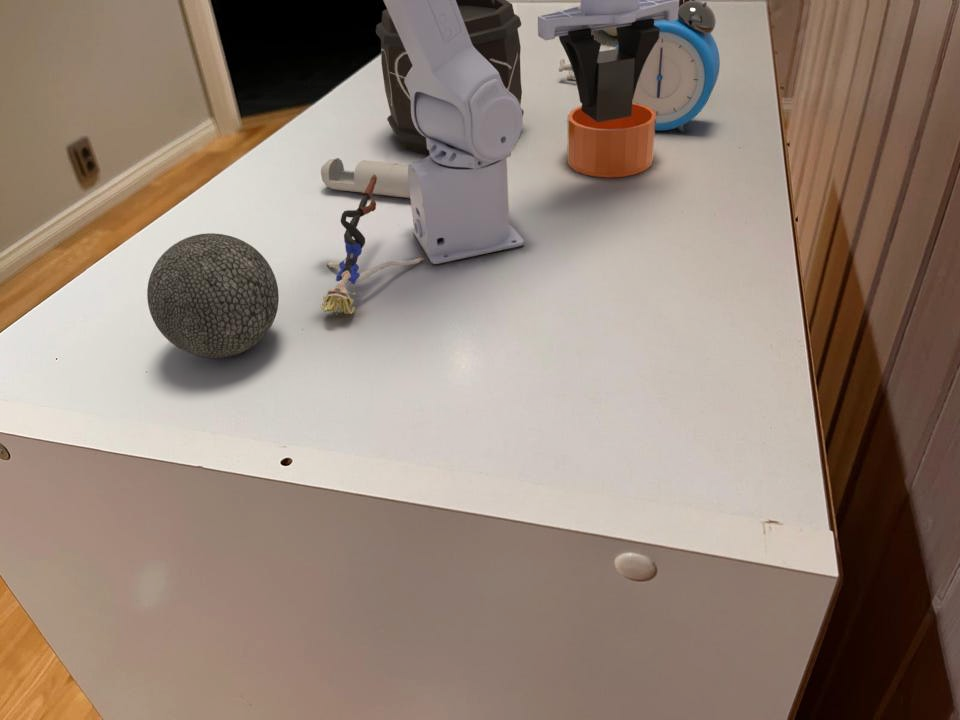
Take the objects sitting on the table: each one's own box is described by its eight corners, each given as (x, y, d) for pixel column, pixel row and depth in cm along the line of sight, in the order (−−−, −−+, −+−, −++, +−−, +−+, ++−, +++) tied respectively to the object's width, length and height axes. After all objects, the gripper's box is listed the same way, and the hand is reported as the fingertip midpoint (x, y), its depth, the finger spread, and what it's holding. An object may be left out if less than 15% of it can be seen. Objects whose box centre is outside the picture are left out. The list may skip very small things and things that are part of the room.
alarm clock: (604, 129, 101) (608, 5, 92) (615, 113, 106) (620, -6, 97) (706, 136, 97) (721, 8, 88) (714, 120, 101) (728, -4, 93)
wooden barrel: (380, 164, 96) (360, 30, 87) (397, 115, 111) (382, -4, 101) (525, 157, 95) (521, 21, 86) (523, 109, 109) (520, -13, 100)
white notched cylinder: (315, 195, 90) (304, 140, 86) (336, 179, 93) (326, 125, 89) (459, 212, 84) (454, 153, 80) (475, 194, 87) (471, 137, 83)
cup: (589, 183, 88) (590, 136, 84) (554, 153, 95) (554, 109, 92) (668, 168, 90) (672, 121, 87) (628, 140, 98) (630, 96, 94)
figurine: (309, 383, 72) (372, 234, 83) (384, 372, 67) (440, 216, 79) (235, 311, 65) (316, 160, 77) (314, 294, 61) (386, 136, 72)
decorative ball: (253, 390, 60) (220, 278, 54) (143, 375, 63) (101, 266, 57) (309, 320, 68) (286, 216, 62) (210, 309, 70) (178, 208, 65)
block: (597, 122, 81) (598, 63, 78) (581, 111, 84) (582, 54, 81) (631, 116, 82) (635, 57, 78) (614, 105, 85) (617, 48, 81)
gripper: (557, -26, 70) (557, 123, 78) (700, -45, 73) (686, 100, 81) (528, -38, 75) (531, 103, 83) (663, -55, 78) (653, 82, 86)
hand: (606, 100), depth 82 cm, fingers closed on block, 4 cm apart
